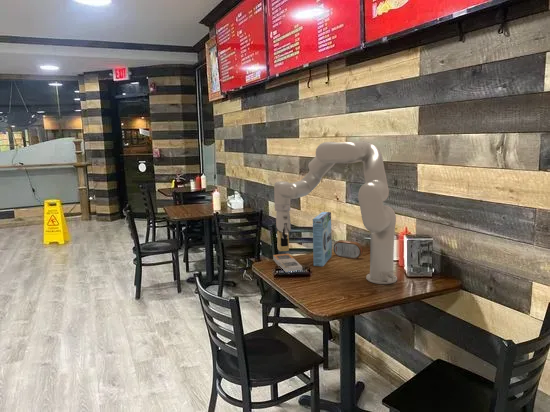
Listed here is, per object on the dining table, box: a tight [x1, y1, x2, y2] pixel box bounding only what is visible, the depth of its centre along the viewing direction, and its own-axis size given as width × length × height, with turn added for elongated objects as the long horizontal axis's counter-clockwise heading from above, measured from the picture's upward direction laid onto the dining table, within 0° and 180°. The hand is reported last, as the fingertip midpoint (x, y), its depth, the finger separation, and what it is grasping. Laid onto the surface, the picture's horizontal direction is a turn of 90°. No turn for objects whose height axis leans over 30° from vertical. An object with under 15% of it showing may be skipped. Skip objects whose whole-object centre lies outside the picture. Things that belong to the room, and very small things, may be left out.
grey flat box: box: [272, 253, 303, 272], centre depth 200 cm, size 22×8×3 cm, turn 14°
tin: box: [332, 239, 364, 260], centre depth 212 cm, size 15×3×8 cm, turn 58°
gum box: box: [312, 211, 333, 267], centre depth 205 cm, size 20×5×23 cm, turn 160°
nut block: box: [276, 230, 290, 252], centre depth 204 cm, size 4×4×9 cm
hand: (283, 244), depth 204 cm, fingers closed on nut block, 4 cm apart
